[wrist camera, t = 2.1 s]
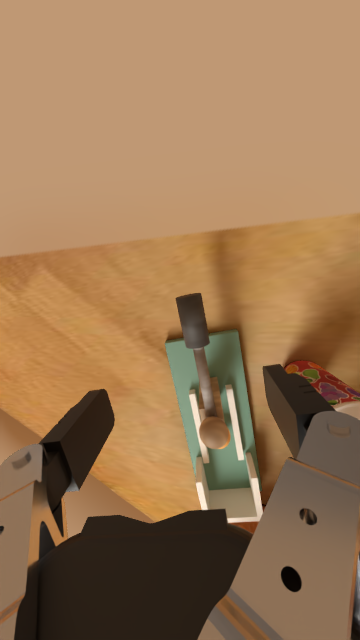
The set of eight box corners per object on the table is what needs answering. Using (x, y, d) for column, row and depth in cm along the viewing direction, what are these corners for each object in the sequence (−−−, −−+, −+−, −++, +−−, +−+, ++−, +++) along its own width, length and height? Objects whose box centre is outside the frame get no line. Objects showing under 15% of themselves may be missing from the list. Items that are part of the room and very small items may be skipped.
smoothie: (284, 404, 38) (372, 545, 19) (264, 365, 37) (336, 474, 17) (332, 385, 37) (480, 518, 17) (313, 344, 35) (451, 437, 16)
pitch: (236, 328, 36) (244, 341, 30) (259, 483, 43) (270, 520, 36) (166, 340, 37) (159, 355, 31) (199, 487, 44) (199, 524, 38)
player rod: (202, 287, 33) (204, 297, 21) (222, 397, 37) (232, 456, 25) (179, 291, 33) (168, 304, 22) (201, 400, 37) (202, 459, 26)
